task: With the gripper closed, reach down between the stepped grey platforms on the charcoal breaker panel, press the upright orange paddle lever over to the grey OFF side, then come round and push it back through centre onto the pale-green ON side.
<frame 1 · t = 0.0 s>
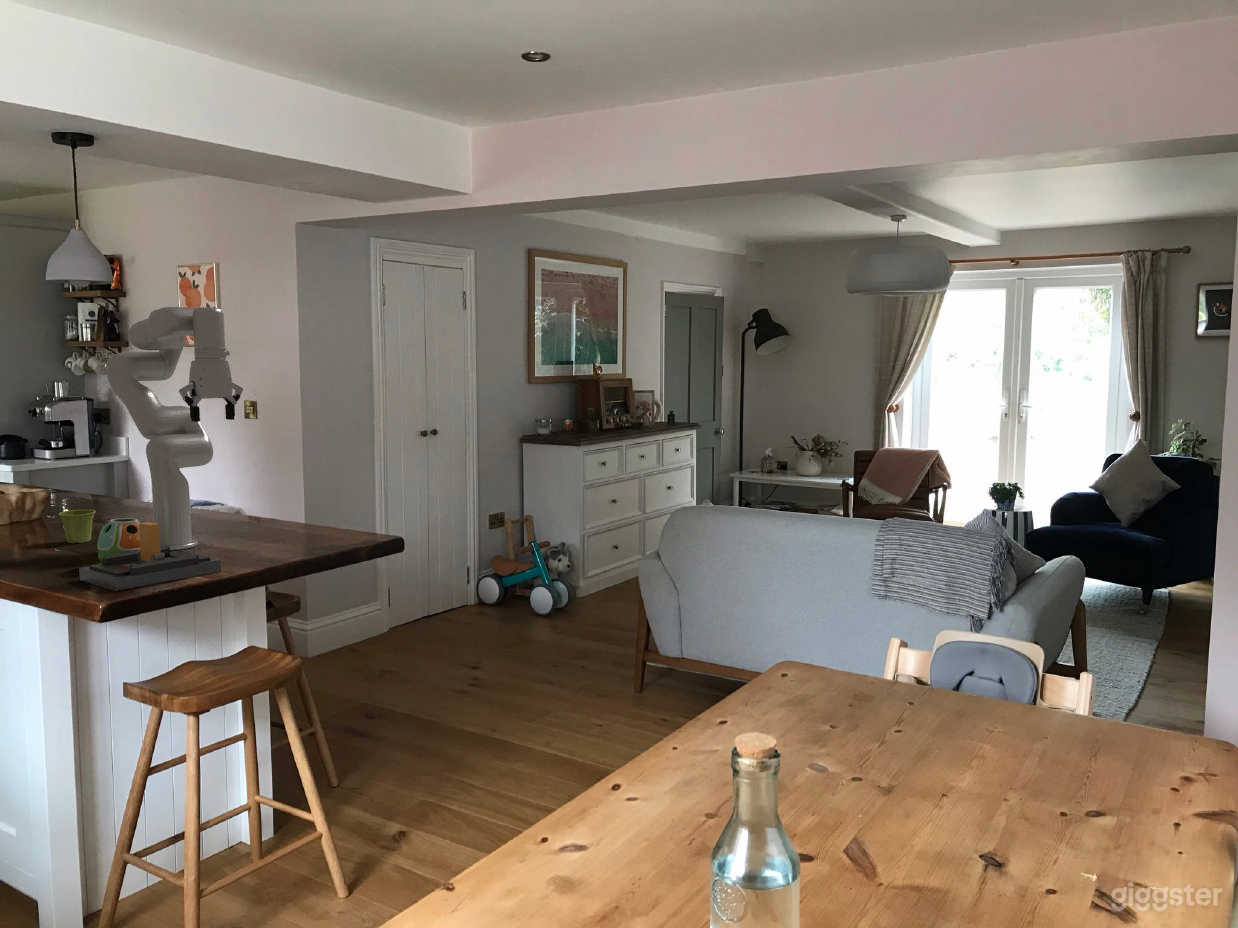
hand: (213, 420, 259), 37 cm above the counter, tool pointing down, fingers open, 9 cm apart
pdu panel: (151, 575, 242), on the counter
turtle holder: (122, 565, 255), on the counter
stepped grey platform: (150, 560, 241), point 3 cm above the counter
plant pot: (79, 542, 285), on the counter
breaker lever: (149, 542, 241), point 8 cm above the counter, hinge at 0.0°
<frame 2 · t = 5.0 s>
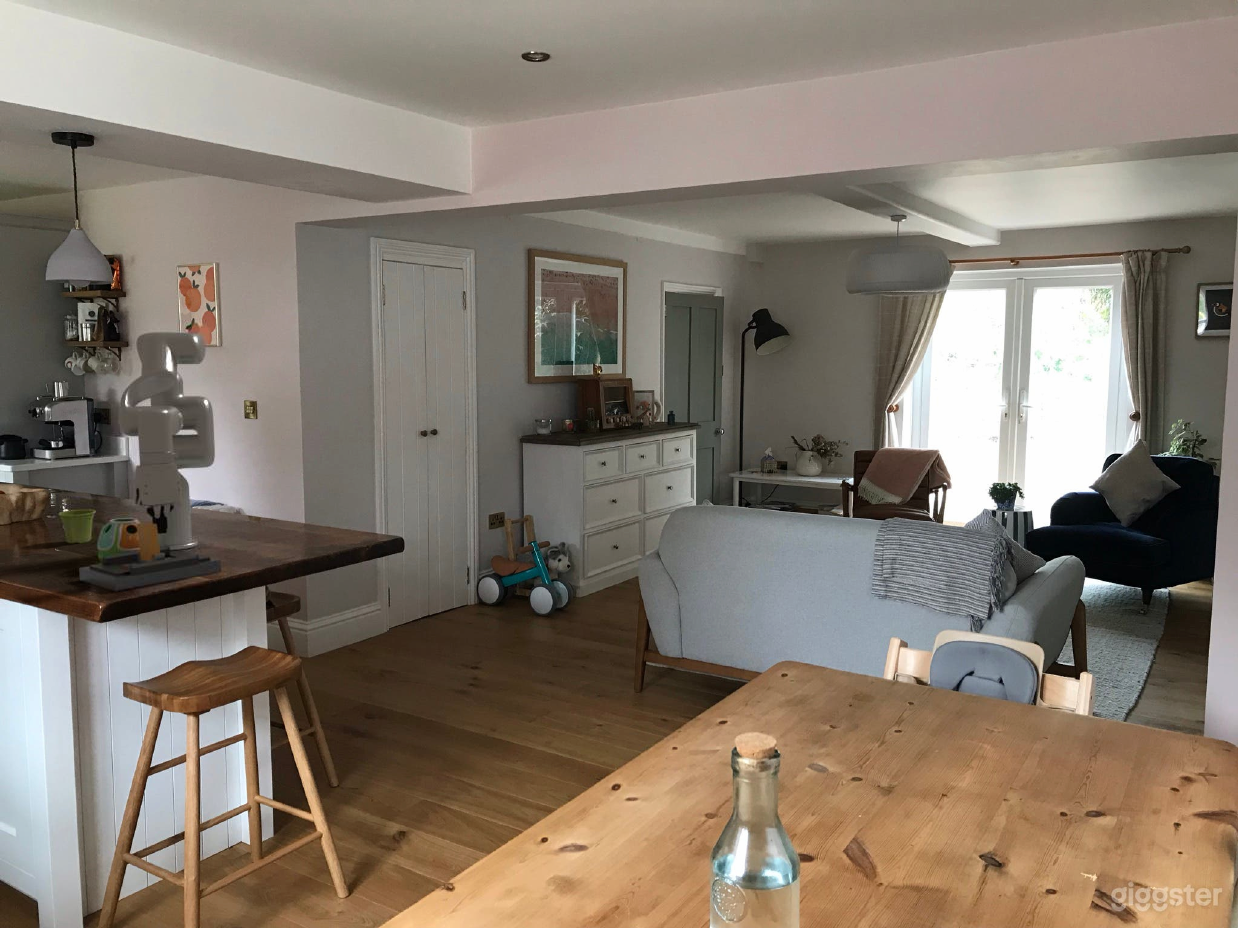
hand: (160, 532, 243), 10 cm above the counter, tool pointing down, fingers closed
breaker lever: (148, 542, 240), point 8 cm above the counter, hinge at -4.0°, touching gripper
everything else where it was.
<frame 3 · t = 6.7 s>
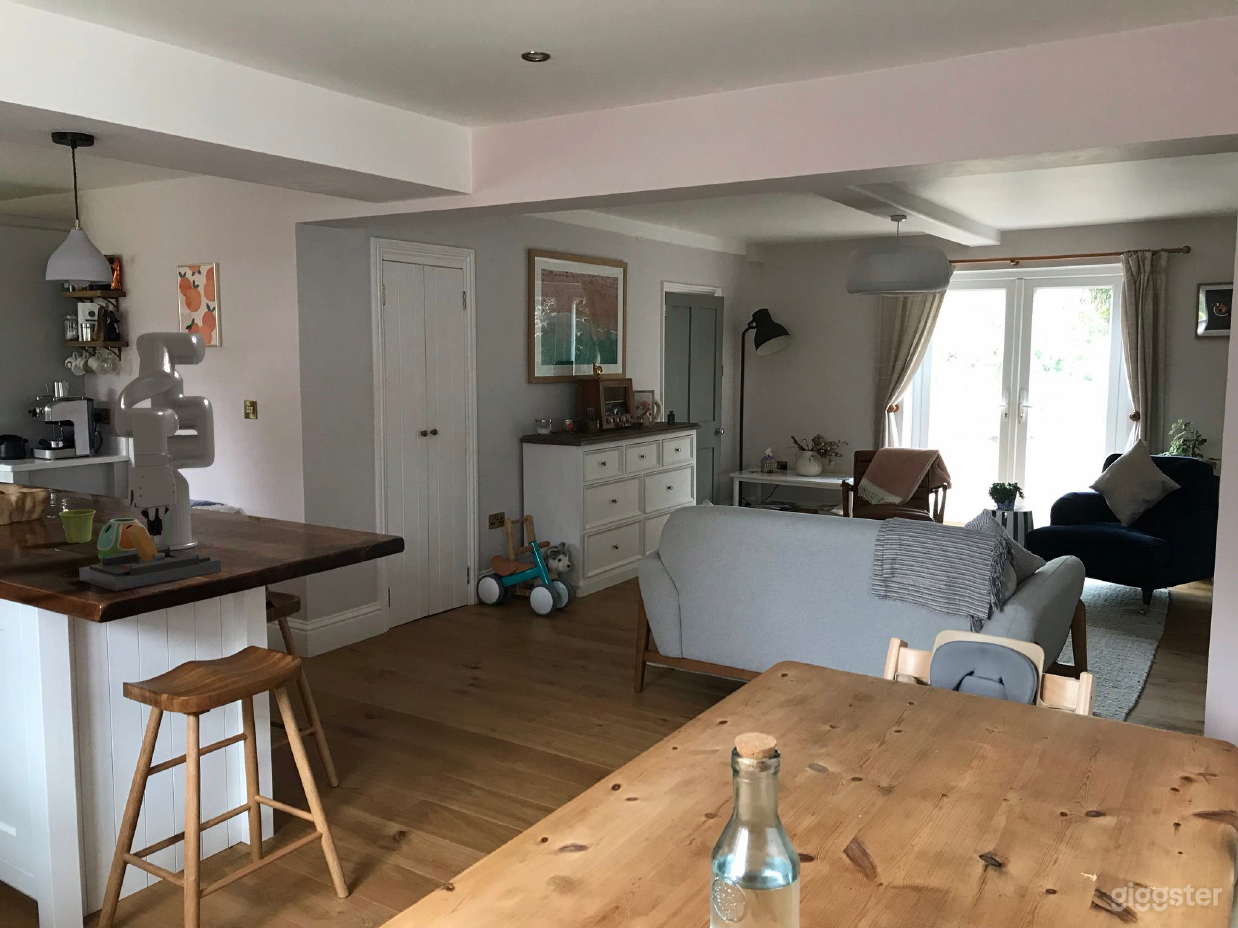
hand: (155, 534, 242), 10 cm above the counter, tool pointing down, fingers closed
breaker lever: (143, 544, 239), point 8 cm above the counter, hinge at -24.6°
everything else where it was.
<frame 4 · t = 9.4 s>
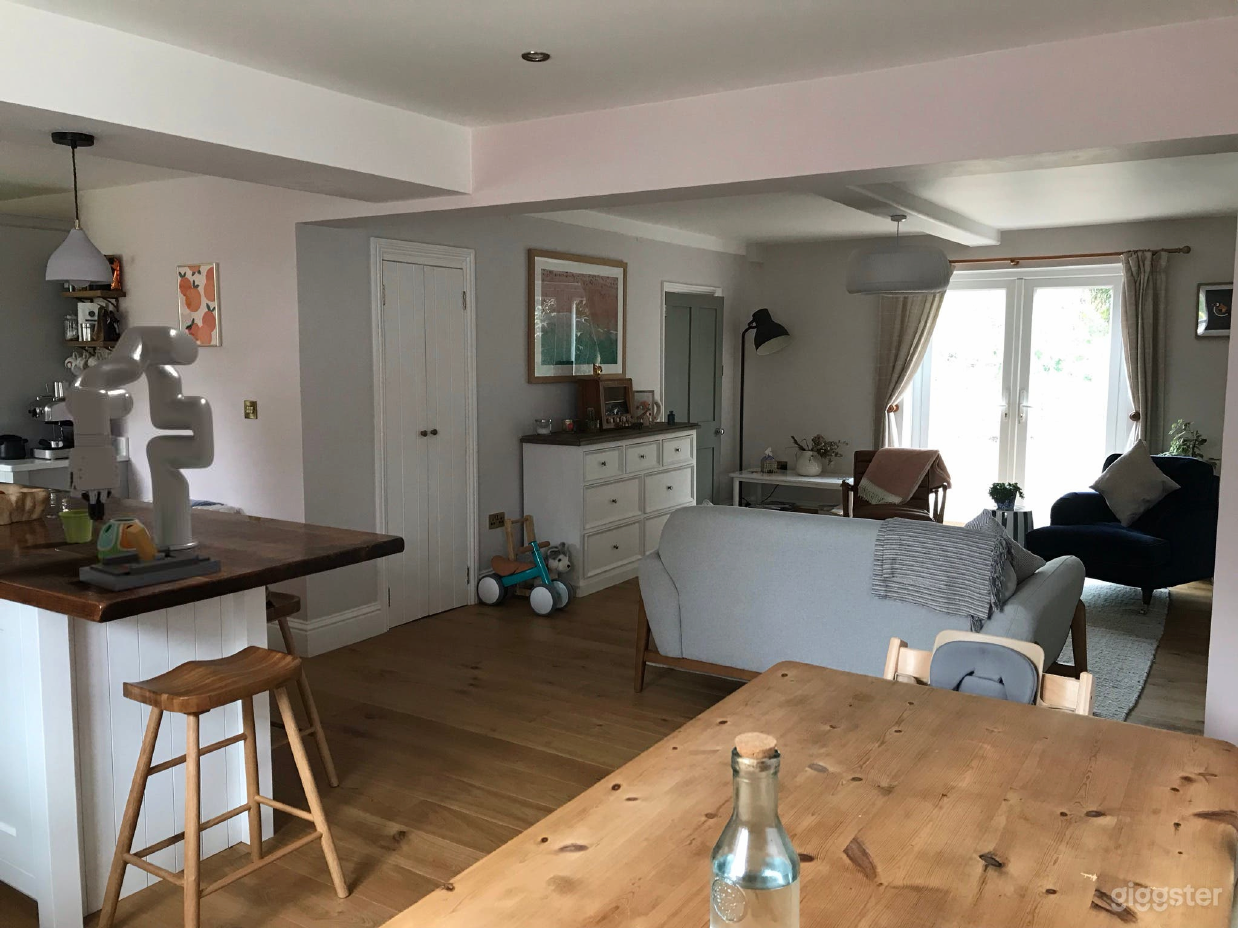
hand: (96, 519, 230), 16 cm above the counter, tool pointing down, fingers closed
nothing on the counter moved.
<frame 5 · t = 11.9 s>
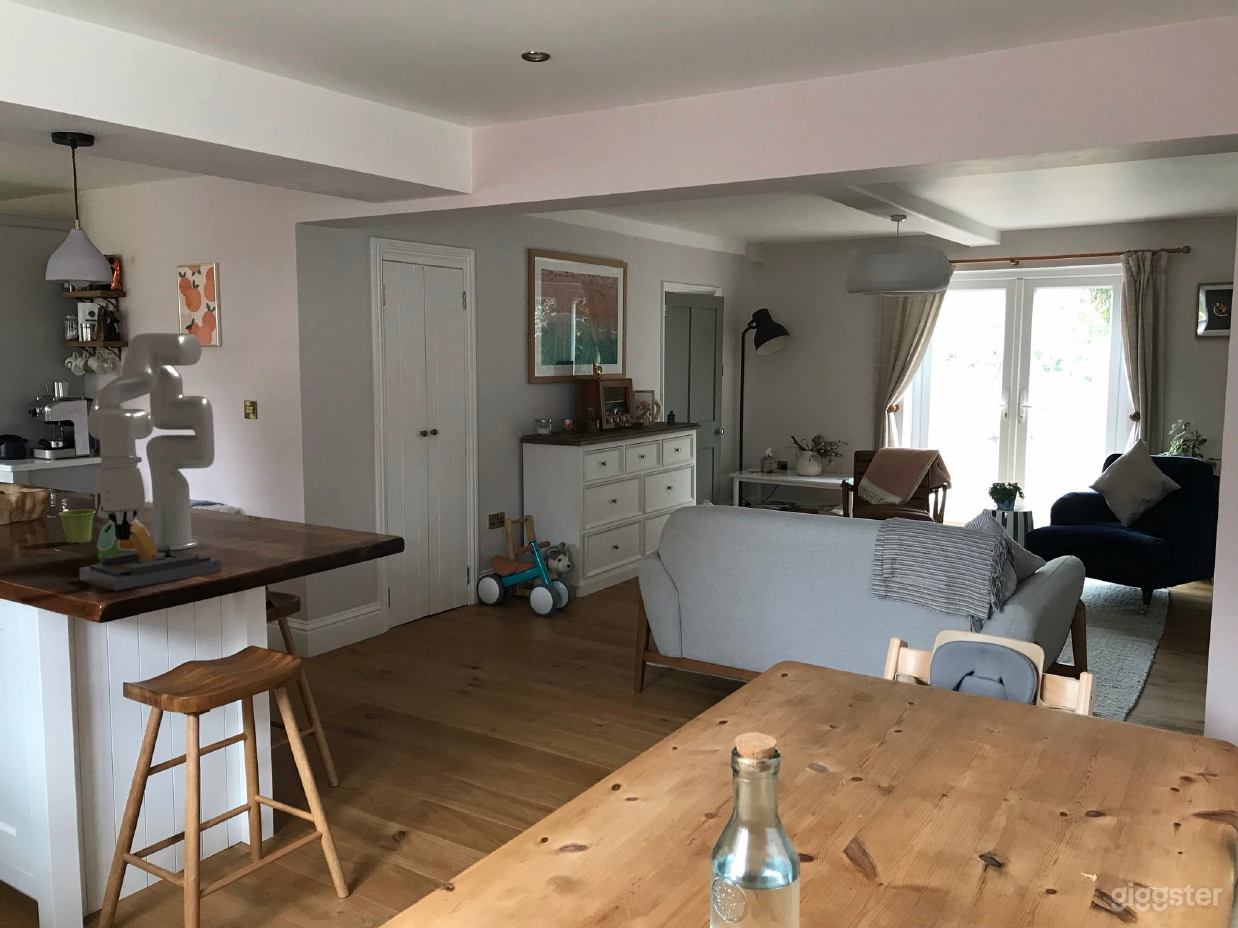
hand: (123, 539, 235), 10 cm above the counter, tool pointing down, fingers closed
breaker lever: (143, 544, 239), point 8 cm above the counter, hinge at -24.5°, touching gripper
everything else where it was.
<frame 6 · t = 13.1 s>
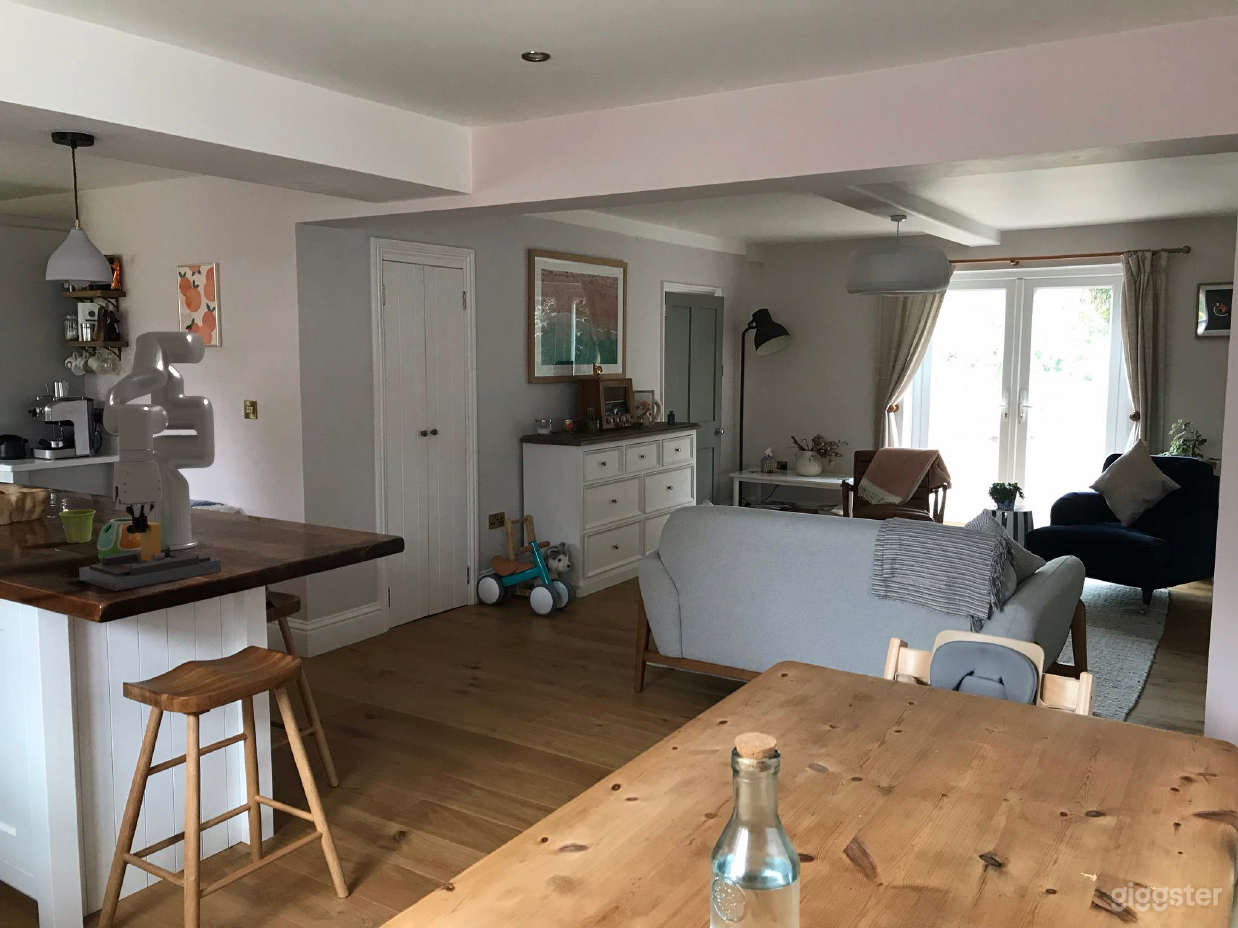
hand: (140, 532, 238), 11 cm above the counter, tool pointing down, fingers closed
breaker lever: (151, 541, 241), point 8 cm above the counter, hinge at 3.8°, touching gripper
everything else where it was.
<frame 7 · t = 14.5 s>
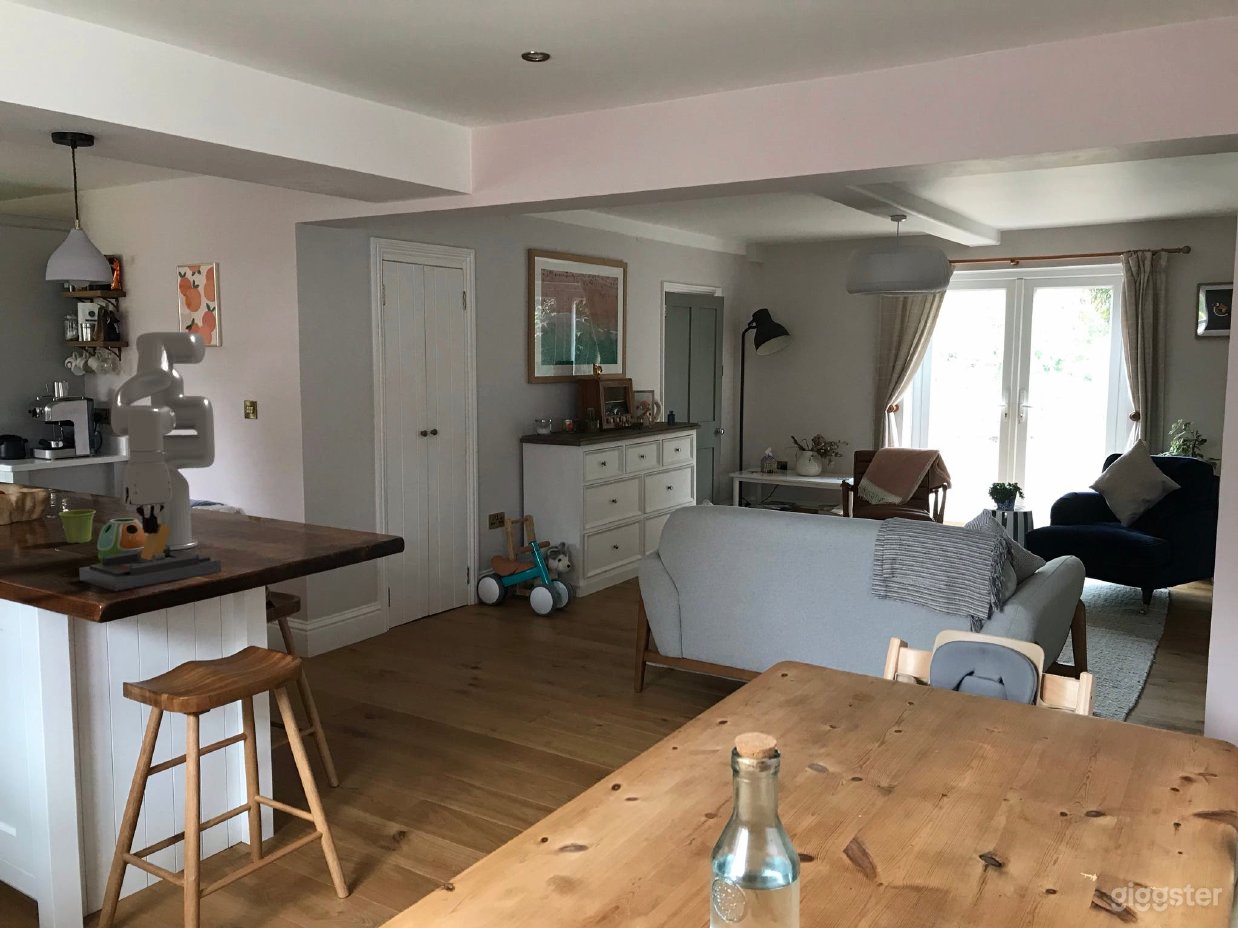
hand: (150, 532, 240), 11 cm above the counter, tool pointing down, fingers closed
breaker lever: (155, 542, 242), point 8 cm above the counter, hinge at 20.4°, touching gripper
everything else where it was.
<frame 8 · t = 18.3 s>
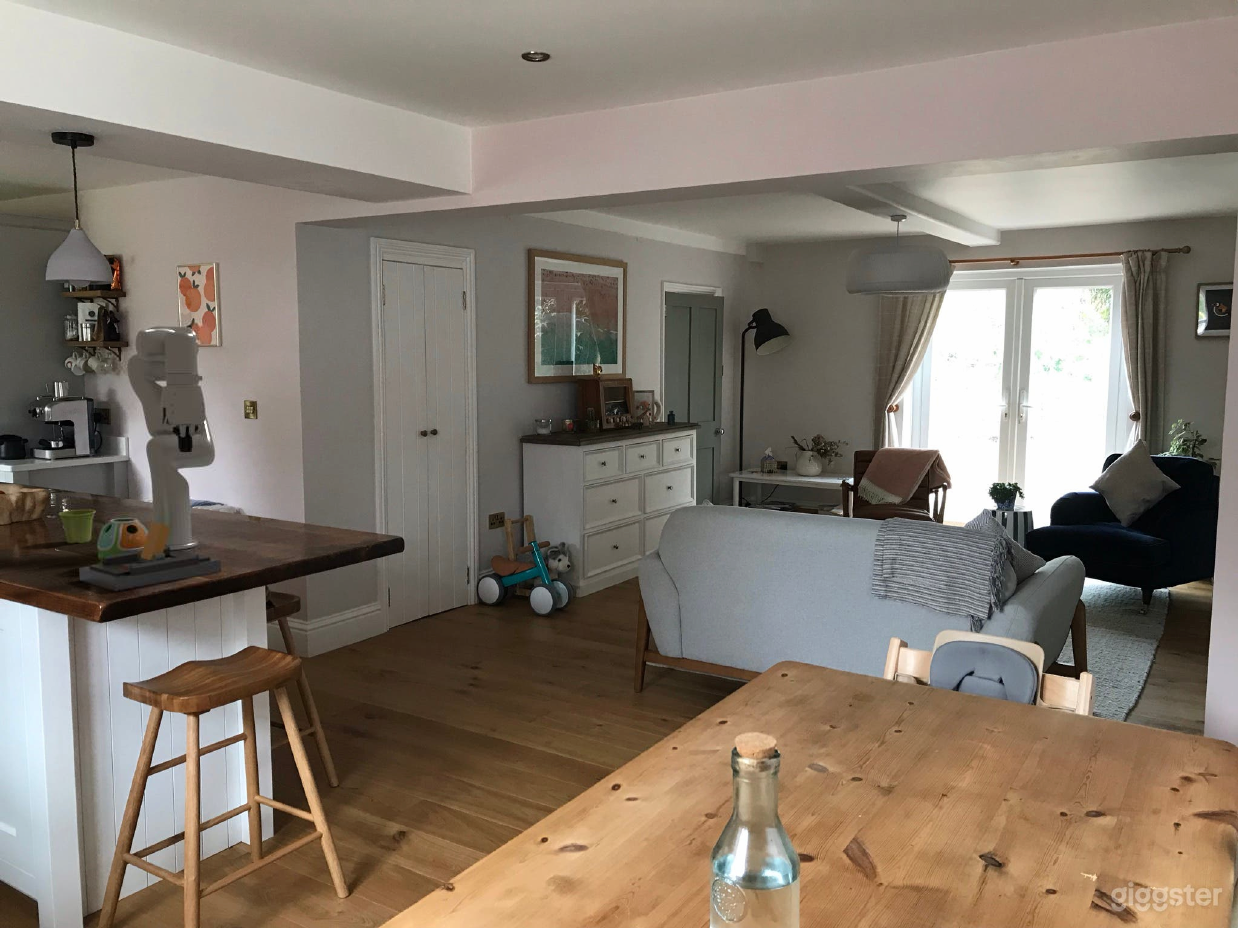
hand: (185, 451, 254), 29 cm above the counter, tool pointing down, fingers closed
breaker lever: (155, 542, 242), point 8 cm above the counter, hinge at 20.4°
everything else where it was.
at the end: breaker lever at +20° (first picture: +0°) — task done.
